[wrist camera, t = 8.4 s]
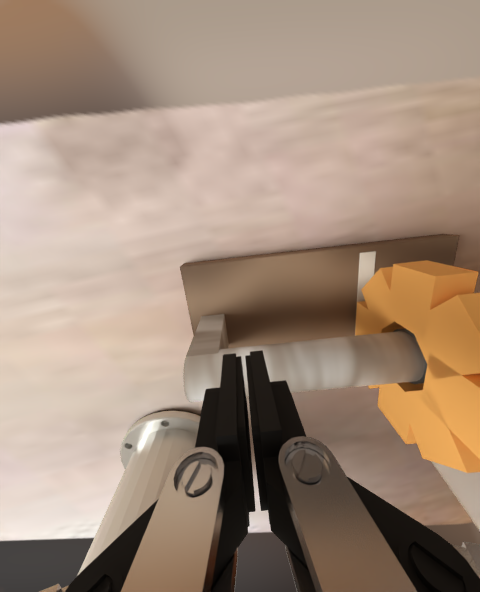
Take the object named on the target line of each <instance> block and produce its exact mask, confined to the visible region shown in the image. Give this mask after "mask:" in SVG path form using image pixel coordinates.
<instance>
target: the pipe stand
mask: <svg viewBox="0 0 480 592" xmlns="http://www.w3.org/2000/svg"><path fill="white" fill-rule="evenodd" d="M458 239H459V235H447V234H440V235H431V236H422V237H413V238H405V239H396V240H387V241H378V242H369V243H361V244H352V245H343V246H334V247H325V248H316V249H308V250H299V251H290V252H281V253H272V254H264V255H255V256H246V257H237V258H228V259H219V260H211V261H202V262H193V263H184V264H183V265H182V266H181V267H180V270H181V275H182V280H183V285H184V290H185V295H186V300H187V305H188V310H189V314H190V319H191V324H192V329H193V334H194V337H193V340H192V342H191V345H190V348H189V350H188V353H187V355H186V358H185V363H184V373H183V378H184V390H185V395H186V398H187V400H188V401H189V402H199V401H203V400H204V395H205V390H206V389H209V388H218V387H220V382H221V371H222V360H223V355H224V354H233V353H236V357H237V356H241V359H242V367H243V376H244V384H245V393H246V397H249V392H248V381H247V370H246V359H245V356H247V355H250V352H251V351H261V350H262V351H263V355H264V359H265V363H266V367H267V371H268V375H269V379H270V382H274V381H283V380H286V381H287V384H288V387H289V389H290V392H291V393H295V392H306V391H317V390H327V389H338V388H349V387H360V386H370V385H381V384H392V383H402V382H409V383H412V384H422V383H424V381H425V375H426V370H427V362H426V360H425V358H424V356H423V353H422V351H421V349H420V346H419V344H418V342H417V340H416V337H415V335H414V334H413V333H412V332H410V331H409V330H407V329H406V328H403V329H396V330H394V331H393V332H387V333H377V334H367V335H357V336H356V335H355V327H356V311H357V302H360V301H365V299H364V296H363V293H362V290H361V289H362V288H363V287H364V286H365V285H366V284H367V282H368V281H369V280H370V279H371V278H372V277H373V276H374V275H375V273H376V272H377V271H378V270H379V269H380V268H385V267H393V264H398V263H407V262H416V261H425V260H428V261H432V262H437V263H441V264H446V265H450V266H453V265H454V259H455V254H456V249H457V244H458Z"/></svg>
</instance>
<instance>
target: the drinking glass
mask: <svg viewBox="0 0 480 592" xmlns="http://www.w3.org/2000/svg"><path fill="white" fill-rule="evenodd" d="M431 462H432V461H431ZM432 464H433V465H434V466H435V468H436V469H437V471H438V472H439V474H440V475H441V476H442V478H443V479H444V481H445V482H446V484H447V485H448V487H449V488H450V489H451V491H452V492H453V494H454V495H455V497H456V498H457V500H458V501H459V502H460V504H461V505H462V507H463V508H464V510H465V511H466V513H467V514H468V515H469V517H470V518H471V520H472V521H473V523H474V524H475V525H476V527H477V529H478V530H479V531H480V472H474V473H466V472H463V471H460V470H457V469H454V468H451V467H448V466H445V465H441V464H438V463H435V462H432Z"/></svg>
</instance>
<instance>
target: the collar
mask: <svg viewBox="0 0 480 592" xmlns="http://www.w3.org/2000/svg"><path fill="white" fill-rule="evenodd" d="M478 273H479V272H478V271H473V270H468V269H464V268H459V267H455V266H450V265H446V264H441V263H437V262H432V261H428V260H425V261H416V262H407V263H398V264H393V267H385V268H380V269H379V270H378V271H377V272H376V273H375V275H374V276H373V277H372V278H371V279H370V280H369V281H368V282H367V284H366V285H365V286H364V287H363V288H362V289H361V290H362V293H363V296H364V299H365V301H360V302H357V311H356V327H355V335H356V336H357V335H367V334H377V333H387V332H393V331H394V330H396V329H403V328H406V329H407V330H409V331H410V332H412V333H413V334H414V335H415V337H416V340H417V342H418V344H419V346H420V349H421V351H422V353H423V356H424V358H425V360H426V362H427V370H426V375H425V381H424V383H422V384H412V383H409V382H402V383H392V384H381V385H370V386H368V387H369V389H371V388H379V397H378V407H379V408H380V410H381V411H382V412H383V414H384V415H385V416H386V418H387V419H388V421H389V422H390V423H391V425H392V426H393V427H394V429H395V430H396V431H397V433H398V434H399V435H400V437H401V438H402V439H403V441H404V442H405V443H406V444H414V443H417V445H418V447H419V450H420V453H421V456H422V458H423V459H426V460H429V461H432V462H435V463H438V464H441V465H445V466H448V467H451V468H454V469H457V470H460V471H463V472H466V473H474V472H480V293H474V290H475V286H476V281H477V277H478Z"/></svg>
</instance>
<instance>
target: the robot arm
mask: <svg viewBox="0 0 480 592" xmlns="http://www.w3.org/2000/svg"><path fill="white" fill-rule="evenodd" d="M245 359H246V370H247V381H248V392H249V403H250V414H251V425H252V435H253V444H254V453H255V462H256V471H257V479H258V488H259V497H260V505H261V511H264V510H268V513H269V521H270V525H271V531H272V532H273V533H274V534H275V535H276V536H277V537H278V538H279V539H280V540H281V541H282V542H283V543H284V544H285V547H286V553H287V556H288V560H289V563H290V567H291V571H292V574H293V578H294V582H295V585H296V589H297V592H480V545H479V544H474V543H468V542H463V544H462V547H460V546H455V545H451V544H450V543H448V542H447V541H446V540H444V539H443V538H442V537H441V536H439V535H438V534H436V533H435V532H433V531H432V530H430V529H428V528H427V527H425V526H424V525H422V524H421V523H419V522H417V521H416V520H414V519H413V518H411V517H410V516H408V515H406V514H405V513H403V512H402V511H400V510H399V509H397V508H395V507H394V506H392V505H391V504H389V503H388V502H386V501H384V500H383V499H381V498H380V497H378V496H377V495H375V494H373V493H372V492H370V491H369V490H367V489H366V488H364V487H362V486H361V485H359V484H358V483H356V482H355V481H353V480H351V479H350V478H348V477H347V476H346V475H345V473H344V472H343V470H342V468H341V467H340V465H339V463H338V462H337V460H336V458H335V457H334V455H333V454H332V453H331V451H330V450H329V449H328V448H327V447H326V446H325V445H324V444H323V443H321V442H320V441H318V440H316V439H313V438H310V437H306V435H305V432H304V429H303V426H302V423H301V421H300V418H299V415H298V412H297V409H296V406H295V404H294V401H293V398H292V395H291V392H290V389H289V387H288V384H287V381H286V380H283V381H274V382H270V379H269V375H268V371H267V367H266V363H265V359H264V355H263V351H262V350H261V351H251V352H250V355H247V356H245ZM120 455H121V461H122V463H123V466H124V468H125V472H124V474H123V476H122V478H121V481H120V483H119V485H118V487H117V489H116V492H115V494H114V496H113V498H112V500H111V503H110V505H109V507H108V509H107V511H106V514H105V516H104V518H103V520H102V522H101V525H100V527H99V529H98V531H97V533H96V536H95V538H94V540H93V542H92V544H91V547H90V549H89V551H88V554H87V555H86V558H85V560H84V562H83V564H82V567H81V569H80V571H79V573H78V575H77V577H76V578H75V579H74V581H73V582H72V583H71V584H70V585H69V586H66V587H64V588H61V587H60V585H59V584H57V585H54V586H52V587H49V588H47V589H45V590H42V591H40V592H234V591H235V581H236V570H237V559H238V547H239V545H240V544H241V542H242V541H243V539H244V538H245V536H246V535H247V533H248V526H249V512H254V511H255V499H254V486H253V473H252V460H251V447H250V434H249V421H248V410H247V401H246V393H245V384H244V376H243V367H242V359H241V356H237V357H236V353H233V354H224V355H223V360H222V371H221V382H220V387H218V388H209V389H206V390H205V395H204V400H203V406H202V411H201V416H199V415H196V414H193V413H189V412H183V411H162V412H158V413H153V414H151V415H148V416H146V417H143V418H142V419H140V420H139V421H137V422H136V423H135V424H134V425H133V426H132V427H131V428H130V429H129V431H128V432H127V434H126V436H125V438H124V440H123V442H122V444H121V450H120Z"/></svg>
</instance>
